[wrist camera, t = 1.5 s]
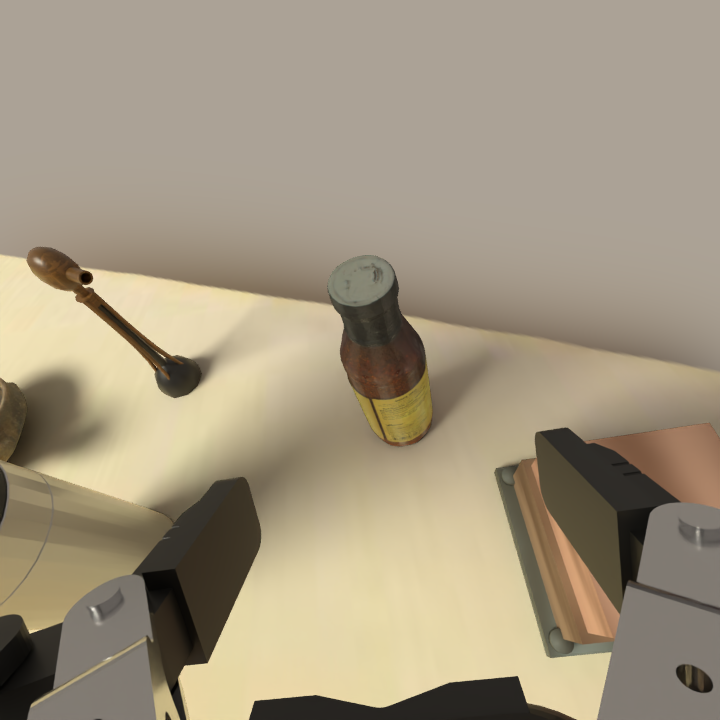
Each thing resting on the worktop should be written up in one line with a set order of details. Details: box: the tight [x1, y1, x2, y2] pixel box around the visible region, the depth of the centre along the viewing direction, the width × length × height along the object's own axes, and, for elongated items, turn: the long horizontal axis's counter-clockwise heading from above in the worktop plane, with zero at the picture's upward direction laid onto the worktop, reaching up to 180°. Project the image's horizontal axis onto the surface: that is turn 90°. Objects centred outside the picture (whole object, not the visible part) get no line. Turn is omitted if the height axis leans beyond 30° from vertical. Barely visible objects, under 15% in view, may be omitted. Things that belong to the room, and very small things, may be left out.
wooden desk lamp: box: [27, 247, 201, 398], centre depth 37 cm, size 6×5×20 cm
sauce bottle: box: [328, 255, 433, 446], centre depth 30 cm, size 7×6×20 cm
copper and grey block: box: [494, 423, 720, 658], centre depth 26 cm, size 13×13×10 cm
